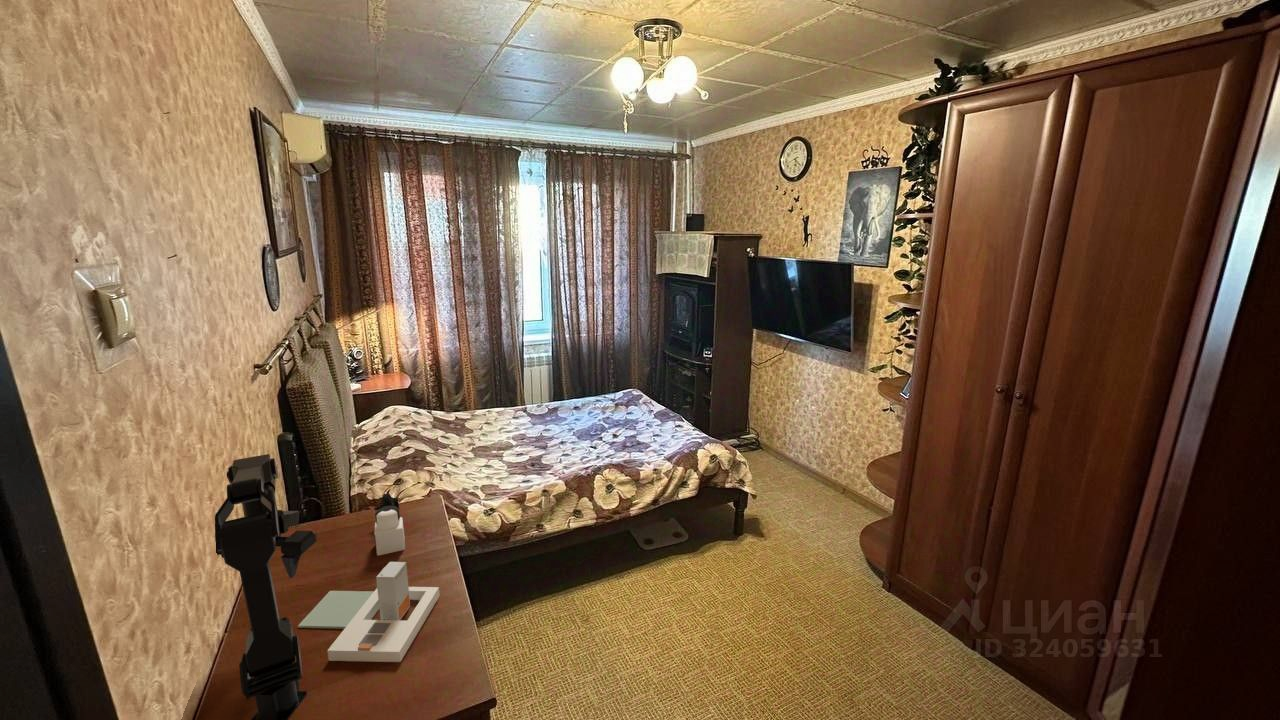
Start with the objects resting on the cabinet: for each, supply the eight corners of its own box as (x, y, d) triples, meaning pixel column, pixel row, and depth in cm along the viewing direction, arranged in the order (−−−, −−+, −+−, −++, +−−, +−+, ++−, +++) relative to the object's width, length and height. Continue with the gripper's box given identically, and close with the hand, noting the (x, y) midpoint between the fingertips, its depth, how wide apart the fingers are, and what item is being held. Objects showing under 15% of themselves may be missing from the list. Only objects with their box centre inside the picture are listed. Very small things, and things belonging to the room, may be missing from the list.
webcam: (404, 526, 158) (401, 496, 156) (377, 533, 154) (374, 503, 152) (401, 515, 164) (398, 486, 162) (375, 521, 161) (371, 492, 158)
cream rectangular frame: (400, 662, 107) (398, 649, 106) (328, 660, 107) (327, 647, 107) (439, 596, 127) (438, 585, 126) (379, 595, 127) (378, 584, 127)
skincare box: (398, 624, 118) (393, 577, 115) (380, 623, 118) (374, 577, 115) (411, 606, 124) (406, 561, 121) (394, 605, 124) (389, 561, 121)
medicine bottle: (377, 544, 149) (373, 506, 146) (404, 538, 152) (400, 501, 149) (376, 557, 143) (372, 518, 140) (405, 551, 146) (401, 512, 143)
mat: (351, 629, 116) (350, 626, 116) (298, 628, 116) (297, 625, 116) (378, 593, 128) (378, 591, 128) (330, 592, 128) (330, 590, 128)
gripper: (327, 494, 118) (335, 555, 121) (246, 493, 118) (257, 554, 122) (294, 520, 107) (304, 586, 110) (205, 519, 107) (218, 585, 111)
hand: (272, 576), depth 114 cm, fingers open, 9 cm apart
